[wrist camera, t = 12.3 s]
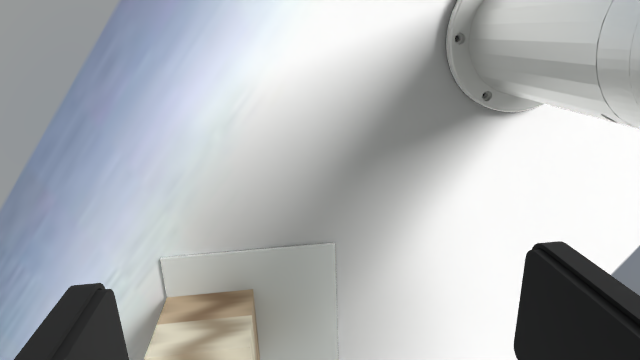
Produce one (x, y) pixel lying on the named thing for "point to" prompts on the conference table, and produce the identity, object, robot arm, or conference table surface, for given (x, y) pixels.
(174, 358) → the block upper
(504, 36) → the robot arm
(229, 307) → the block lower
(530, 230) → the conference table surface
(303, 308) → the mat
